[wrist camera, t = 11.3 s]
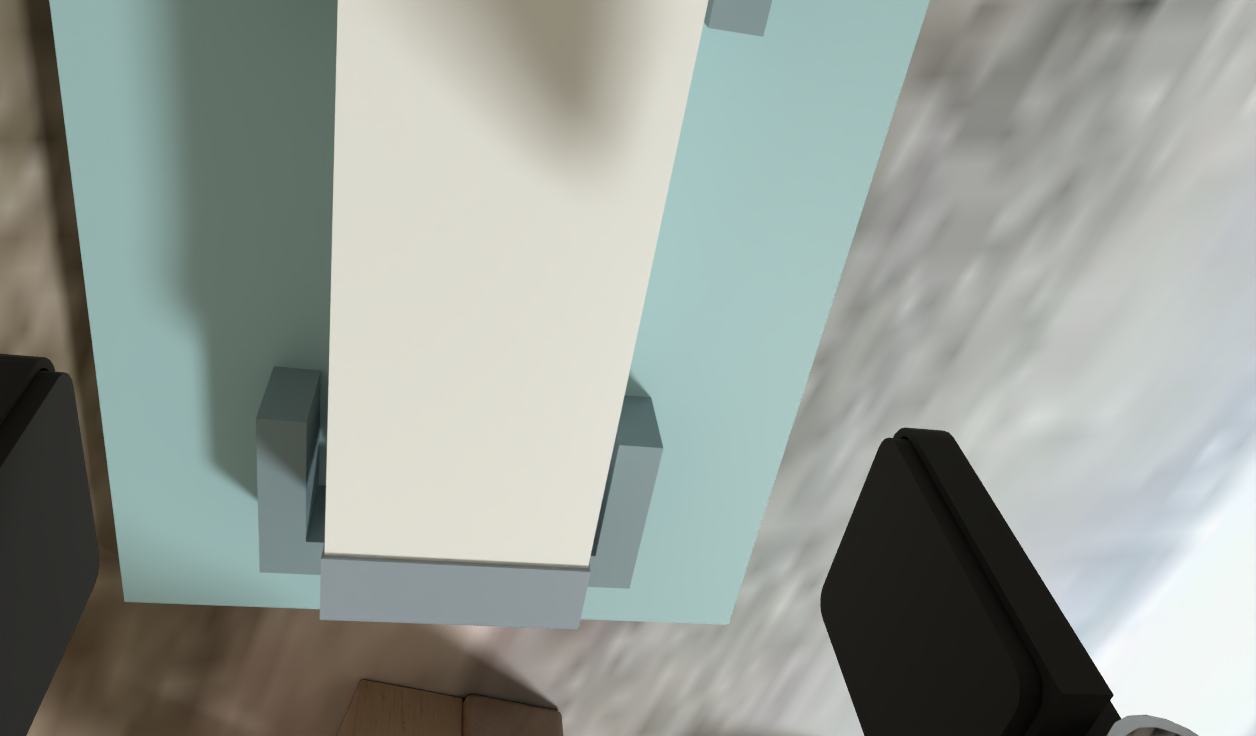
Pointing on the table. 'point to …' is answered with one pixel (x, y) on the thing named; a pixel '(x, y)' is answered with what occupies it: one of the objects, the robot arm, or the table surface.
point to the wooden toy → (441, 715)
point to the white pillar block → (488, 293)
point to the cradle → (301, 287)
